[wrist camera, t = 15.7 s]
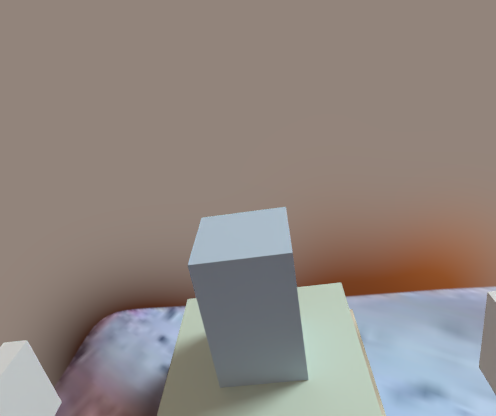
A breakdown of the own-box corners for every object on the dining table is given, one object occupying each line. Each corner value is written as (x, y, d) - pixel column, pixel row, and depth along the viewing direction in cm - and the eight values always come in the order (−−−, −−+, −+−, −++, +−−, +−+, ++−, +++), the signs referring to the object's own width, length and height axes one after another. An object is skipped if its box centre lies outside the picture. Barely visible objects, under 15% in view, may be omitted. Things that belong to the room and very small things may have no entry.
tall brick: (299, 318, 31) (285, 206, 27) (308, 379, 26) (292, 252, 22) (226, 325, 32) (201, 217, 28) (220, 387, 26) (187, 265, 22)
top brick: (343, 317, 36) (341, 282, 34) (387, 475, 24) (387, 432, 22) (196, 332, 37) (187, 299, 36) (164, 489, 25) (147, 449, 23)
